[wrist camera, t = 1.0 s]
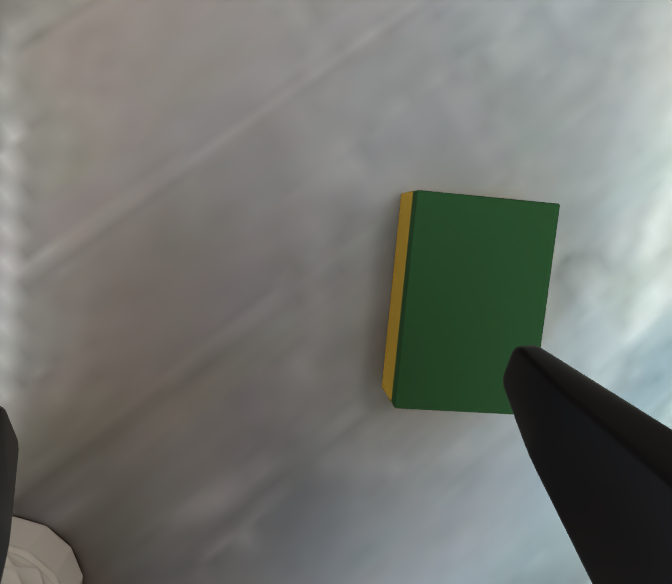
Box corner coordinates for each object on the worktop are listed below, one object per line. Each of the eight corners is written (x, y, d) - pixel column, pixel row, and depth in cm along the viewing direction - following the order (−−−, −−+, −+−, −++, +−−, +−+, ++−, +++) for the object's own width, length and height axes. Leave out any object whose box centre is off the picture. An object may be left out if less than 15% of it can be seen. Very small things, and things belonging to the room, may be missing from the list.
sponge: (504, 394, 27) (531, 415, 24) (381, 387, 26) (394, 408, 23) (528, 205, 26) (560, 203, 23) (401, 193, 25) (417, 190, 22)
